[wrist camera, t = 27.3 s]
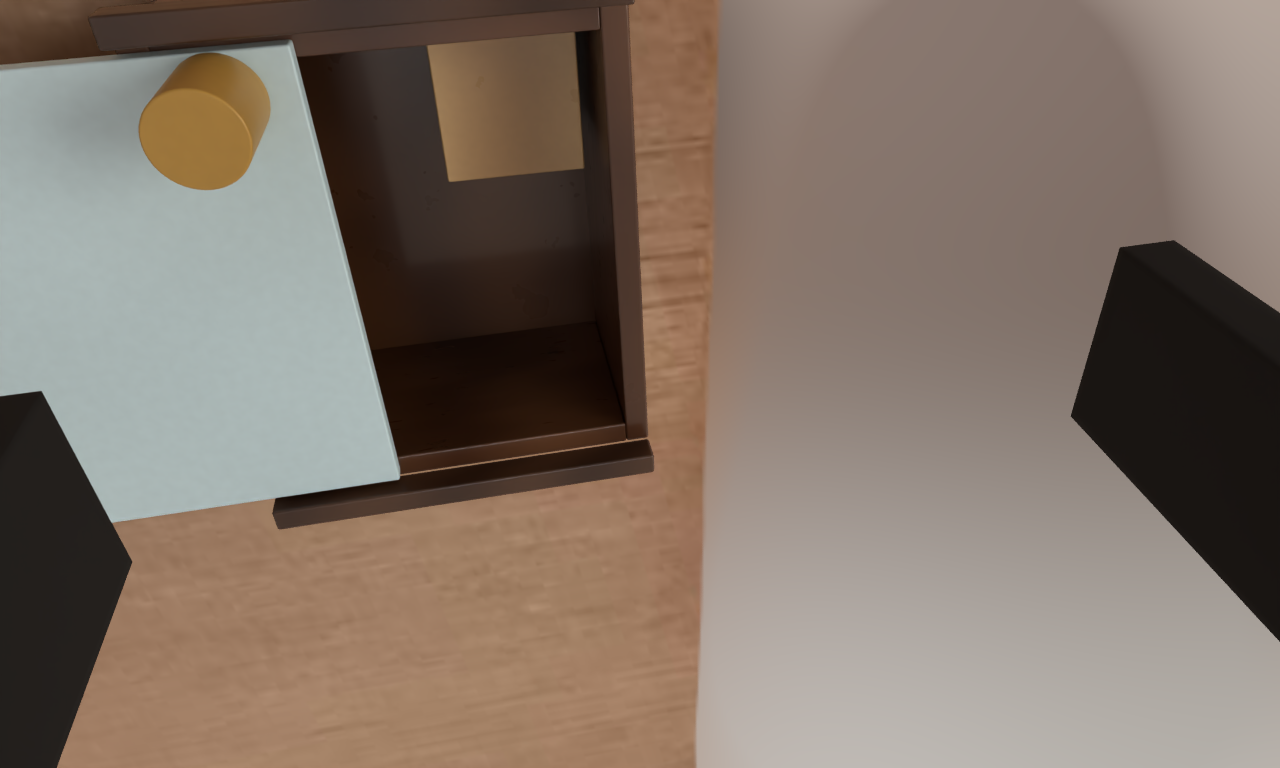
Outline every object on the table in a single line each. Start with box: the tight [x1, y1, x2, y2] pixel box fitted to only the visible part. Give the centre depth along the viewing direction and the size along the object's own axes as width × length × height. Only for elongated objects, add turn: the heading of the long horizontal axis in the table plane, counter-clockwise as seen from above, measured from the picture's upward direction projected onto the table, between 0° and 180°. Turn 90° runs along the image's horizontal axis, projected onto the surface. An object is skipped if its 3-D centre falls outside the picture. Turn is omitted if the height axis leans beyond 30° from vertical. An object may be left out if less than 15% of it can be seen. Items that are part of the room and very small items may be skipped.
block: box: [426, 32, 585, 182], centre depth 30 cm, size 4×4×4 cm
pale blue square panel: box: [0, 39, 400, 523], centre depth 25 cm, size 13×14×4 cm
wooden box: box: [88, 0, 654, 529], centre depth 31 cm, size 13×17×9 cm
